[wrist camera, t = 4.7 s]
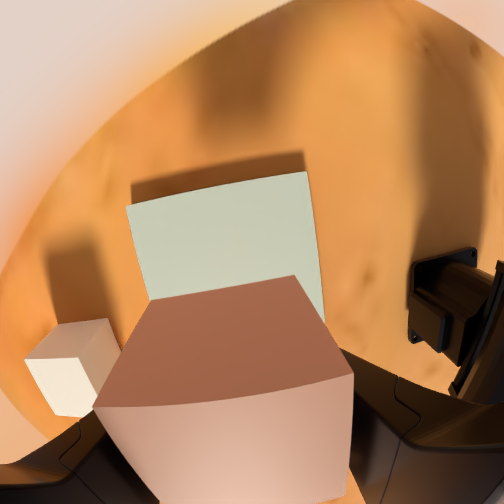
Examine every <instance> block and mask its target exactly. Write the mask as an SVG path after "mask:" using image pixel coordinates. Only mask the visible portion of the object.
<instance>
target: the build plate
mask: <svg viewBox="0 0 504 504" xmlns="http://www.w3.org/2000/svg"><path fill="white" fill-rule="evenodd" d="M126 211H127V215H128V220H129V224H130V229H131V233H132V237H133V241H134V245H135V249H136V253H137V257H138V261H139V265H140V268H141V272H142V276H143V279H144V283H145V286H146V290H147V293H148V296H149V300H150V302H151V300H154V299H161V298H167V297H173V296H179V295H185V294H191V293H197V292H203V291H208V290H214V289H220V288H226V287H231V286H237V285H242V284H248V283H253V282H258V281H264V280H269V279H274V278H280V277H285V276H290V275H295V276H296V278H297V280H298V281H299V283H300V285H301V286H302V288H303V289H304V291H305V293H306V294H307V296H308V298H309V299H310V301H311V302H312V304H313V306H314V307H315V309H316V311H317V312H318V314H319V316H320V317H321V319H322V320H323V322H324V324H325V320H324V308H323V297H322V286H321V276H320V267H319V258H318V249H317V241H316V233H315V225H314V217H313V210H312V203H311V196H310V189H309V183H308V176H307V171H302V172H295V173H288V174H282V175H275V176H269V177H263V178H257V179H251V180H245V181H240V182H234V183H229V184H224V185H218V186H213V187H208V188H203V189H198V190H193V191H188V192H184V193H179V194H174V195H170V196H165V197H161V198H157V199H152V200H148V201H144V202H140V203H136V204H131V205H128V206H126Z"/></svg>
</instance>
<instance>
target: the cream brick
mask: <svg viewBox="0 0 504 504" xmlns="http://www.w3.org/2000/svg"><path fill="white" fill-rule="evenodd" d="M120 353H121V351H120V348H119V346H118V343H117V341H116V338H115V336H114V333H113V330H112V328H111V325H110V322H109V320H108V318H104V319H96V320H88V321H80V322H72V323H64V324H58V325H57V326H56V327H55V328H54V329H53V330H52V331H51V332H50V333H49V334H48V335H47V336H46V337H45V338H44V339H43V340H42V341H41V342H40V343H39V344H38V345H37V346H36V347H35V348H34V349H33V350H32V351H31V352H30V353H29V354H28V355H27V356H26V358H25V359H24V360H25V362H26V364H27V366H28V368H29V370H30V372H31V374H32V376H33V378H34V379H35V381H36V383H37V385H38V387H39V388H40V390H41V392H42V393H43V395H44V397H45V398H46V400H47V402H48V403H49V405H50V407H51V408H52V410H53V411H54V413H55V414H56V415H60V416H72V417H84V416H85V415H87V414H88V413H89V412H91V411H92V410H93V408H92V406H93V404H94V402H95V400H96V398H97V396H98V394H99V392H100V390H101V388H102V386H103V385H104V383H105V381H106V379H107V377H108V375H109V373H110V372H111V370H112V368H113V366H114V364H115V362H116V361H117V359H118V357H119V355H120Z"/></svg>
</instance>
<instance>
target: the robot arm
mask: <svg viewBox="0 0 504 504" xmlns="http://www.w3.org/2000/svg"><path fill="white" fill-rule="evenodd" d="M471 253H472V255H471ZM418 267H419V270H418V271H417V268H418ZM495 269H496V273H495V277H494V276H492V275H490V274H488V273H486V272H484V271H482V270H480V269H477V249H476V248H474V247H467V248H464V249H460V250H456V251H453V252H449V253H445V254H441V255H438V256H434V257H430V258H426V259H422V260H418V261H415V262H414V263H413V264H412V266H411V293H410V296H409V317H408V326H409V331H408V340H409V341H410V342H411V343H412V344H416V343H418V342H421V341H425V342H426V343H428V344H429V345H430V346H431V347H432V348H433V349H434V350H435V351H436V352H437V353H441V352H443V353H444V354H445V355H446V356H447V357H448V358H449V359H450V360H451V361H452V362H453V363H454V364H455V365H456V366H457V367H460V366H461V367H460V369H459V371H458V373H457V375H456V377H455V379H454V381H453V382H451V384H450V386H449V388H448V391H449V393H450V396H449V395H446V394H443V393H439V392H436V391H434V390H431V389H428V388H425V387H422V386H420V385H418V384H415V383H413V382H410V381H408V380H406V379H404V378H402V377H398V376H397V375H395V374H393V373H391V372H389V371H387V370H384V369H382V368H380V367H378V366H376V365H374V364H372V363H370V362H368V361H366V360H364V359H362V358H360V357H357V356H355V355H353V354H351V353H349V352H347V351H345V350H343V349H341V348H339V349H340V350H341V352H342V354H343V355H344V357H345V359H346V361H347V362H348V364H349V366H350V367H351V369H352V371H353V372H354V389H353V416H352V433H351V447H350V458H349V468H350V470H351V472H352V474H353V476H354V479H355V481H356V483H357V485H358V487H359V489H360V492H361V494H362V496H363V498H364V500H365V502H366V504H504V261H501V260H497V264H496V268H495ZM414 336H415V338H414ZM159 502H160V501H159V500H158V498H157V497H156V496H155V495H154V494H153V493H152V491H151V490H150V489H149V488H148V487H147V485H146V484H145V483H144V482H143V481H142V479H141V478H140V477H139V476H138V474H137V473H136V472H135V470H134V469H133V468H132V466H131V465H130V464H129V462H128V461H127V460H126V458H125V457H124V456H123V454H122V453H121V451H120V450H119V449H118V447H117V446H116V444H115V443H114V441H113V440H112V438H111V437H110V435H109V434H108V432H107V431H106V429H105V428H104V426H103V424H102V423H101V421H100V420H99V418H98V416H97V415H96V413H95V411H94V410H92V411H91V412H89V413H88V414H87V415H85V416H84V417H83V418H82V419H80V420H79V422H76V423H75V424H74V425H72V426H71V427H70V428H68V429H67V430H66V431H64V432H63V433H62V434H60V435H59V436H57V437H56V438H54V439H53V440H51V441H50V442H48V443H47V444H45V445H43V446H42V447H40V448H38V449H37V450H35V451H33V452H32V453H30V454H28V455H27V456H25V457H23V458H22V459H20V460H18V461H16V462H13V463H10V464H0V504H159Z"/></svg>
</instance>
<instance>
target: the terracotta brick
mask: <svg viewBox="0 0 504 504" xmlns="http://www.w3.org/2000/svg"><path fill="white" fill-rule="evenodd" d="M353 389H354V372H353V371H352V369H351V367H350V366H349V364H348V362H347V361H346V359H345V357H344V355H343V354H342V352H341V350H340V349H339V347H338V345H337V344H336V342H335V340H334V339H333V337H332V335H331V334H330V332H329V330H328V329H327V327H326V325H325V324H324V322H323V320H322V319H321V317H320V316H319V314H318V312H317V311H316V309H315V307H314V306H313V304H312V302H311V301H310V299H309V298H308V296H307V294H306V293H305V291H304V289H303V288H302V286H301V285H300V283H299V281H298V280H297V278H296V276H295V275H290V276H285V277H280V278H274V279H269V280H264V281H258V282H253V283H248V284H242V285H237V286H231V287H226V288H220V289H214V290H208V291H203V292H197V293H191V294H185V295H179V296H173V297H167V298H161V299H154V300H151V302H150V303H149V305H148V307H147V308H146V310H145V312H144V313H143V315H142V317H141V318H140V320H139V322H138V324H137V325H136V327H135V329H134V330H133V332H132V334H131V336H130V337H129V339H128V341H127V343H126V344H125V346H124V348H123V350H122V352H121V353H120V355H119V357H118V359H117V361H116V362H115V364H114V366H113V368H112V370H111V372H110V373H109V375H108V377H107V379H106V381H105V383H104V385H103V386H102V388H101V390H100V392H99V394H98V396H97V398H96V400H95V402H94V404H93V406H92V408H93V410H94V411H95V413H96V415H97V416H98V418H99V420H100V421H101V423H102V424H103V426H104V428H105V429H106V431H107V432H108V434H109V435H110V437H111V438H112V440H113V441H114V443H115V444H116V446H117V447H118V449H119V450H120V451H121V453H122V454H123V456H124V457H125V458H126V460H127V461H128V462H129V464H130V465H131V466H132V468H133V469H134V470H135V472H136V473H137V474H138V476H139V477H140V478H141V479H142V481H143V482H144V483H145V484H146V485H147V487H148V488H149V489H150V490H151V491H152V493H153V494H154V495H155V496H156V497H157V498H158V500H159V501H160V502H161V503H162V504H315V503H320V502H324V501H328V500H332V499H335V498H339V497H343V496H345V494H346V487H347V478H348V469H349V458H350V447H351V433H352V416H353Z"/></svg>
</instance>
